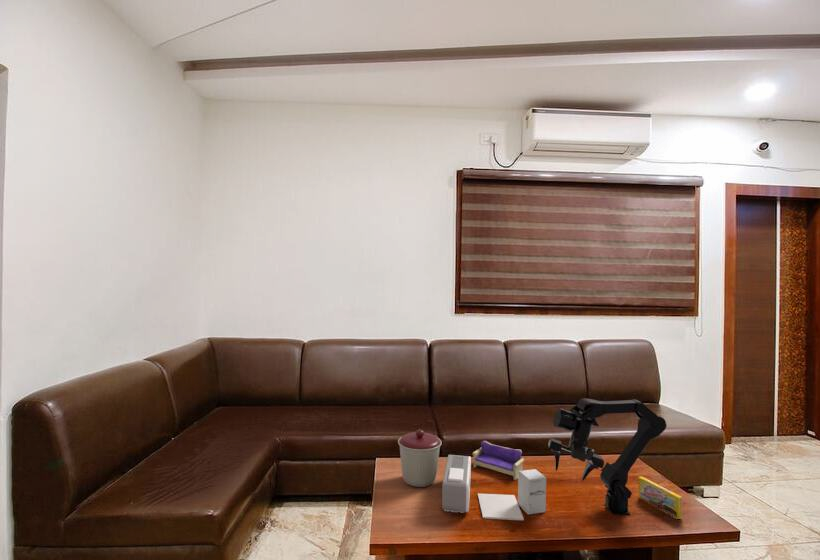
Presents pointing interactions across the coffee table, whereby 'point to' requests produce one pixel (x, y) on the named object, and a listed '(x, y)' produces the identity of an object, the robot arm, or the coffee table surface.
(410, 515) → the coffee table surface
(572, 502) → the coffee table surface
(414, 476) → the canister
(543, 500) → the supplement box
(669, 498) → the candy box
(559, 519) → the coffee table surface
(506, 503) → the white flat panel
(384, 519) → the coffee table surface
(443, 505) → the grey boxy piece
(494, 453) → the toy sofa
